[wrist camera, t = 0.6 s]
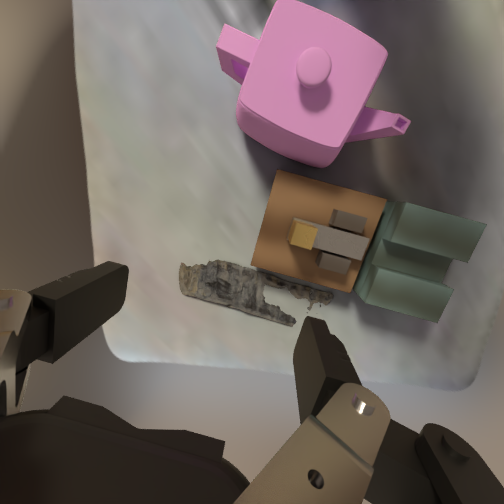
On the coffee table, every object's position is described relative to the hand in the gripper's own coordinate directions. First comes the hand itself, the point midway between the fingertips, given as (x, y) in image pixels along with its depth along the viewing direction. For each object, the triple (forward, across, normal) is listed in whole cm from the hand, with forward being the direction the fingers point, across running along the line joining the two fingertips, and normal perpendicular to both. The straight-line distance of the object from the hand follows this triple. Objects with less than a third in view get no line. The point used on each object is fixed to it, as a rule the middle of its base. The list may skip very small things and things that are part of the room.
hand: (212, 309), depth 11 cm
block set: (+22, -12, -2) cm, 25 cm away
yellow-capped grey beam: (+17, -8, -2) cm, 19 cm away
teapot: (+22, -2, -15) cm, 27 cm away
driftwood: (+22, -2, +8) cm, 24 cm away
